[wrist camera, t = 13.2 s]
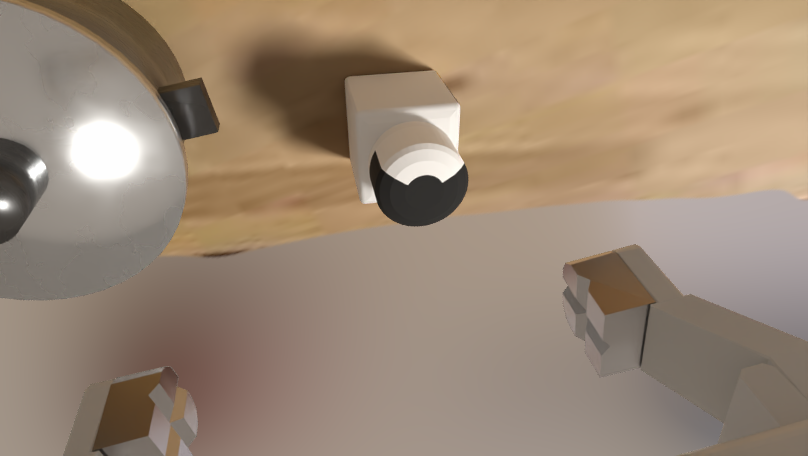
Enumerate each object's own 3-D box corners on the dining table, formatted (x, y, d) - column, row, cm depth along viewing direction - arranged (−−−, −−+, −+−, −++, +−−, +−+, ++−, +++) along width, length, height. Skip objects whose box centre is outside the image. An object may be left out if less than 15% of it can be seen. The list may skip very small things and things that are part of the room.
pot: (-186, 5, 33) (-333, 57, 25) (172, -70, 35) (141, -43, 27) (-17, 229, 43) (-84, 318, 35) (257, 164, 45) (253, 235, 36)
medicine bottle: (434, 152, 47) (476, 233, 37) (349, 160, 46) (370, 245, 36) (436, 68, 43) (484, 134, 33) (343, 75, 42) (364, 145, 32)
